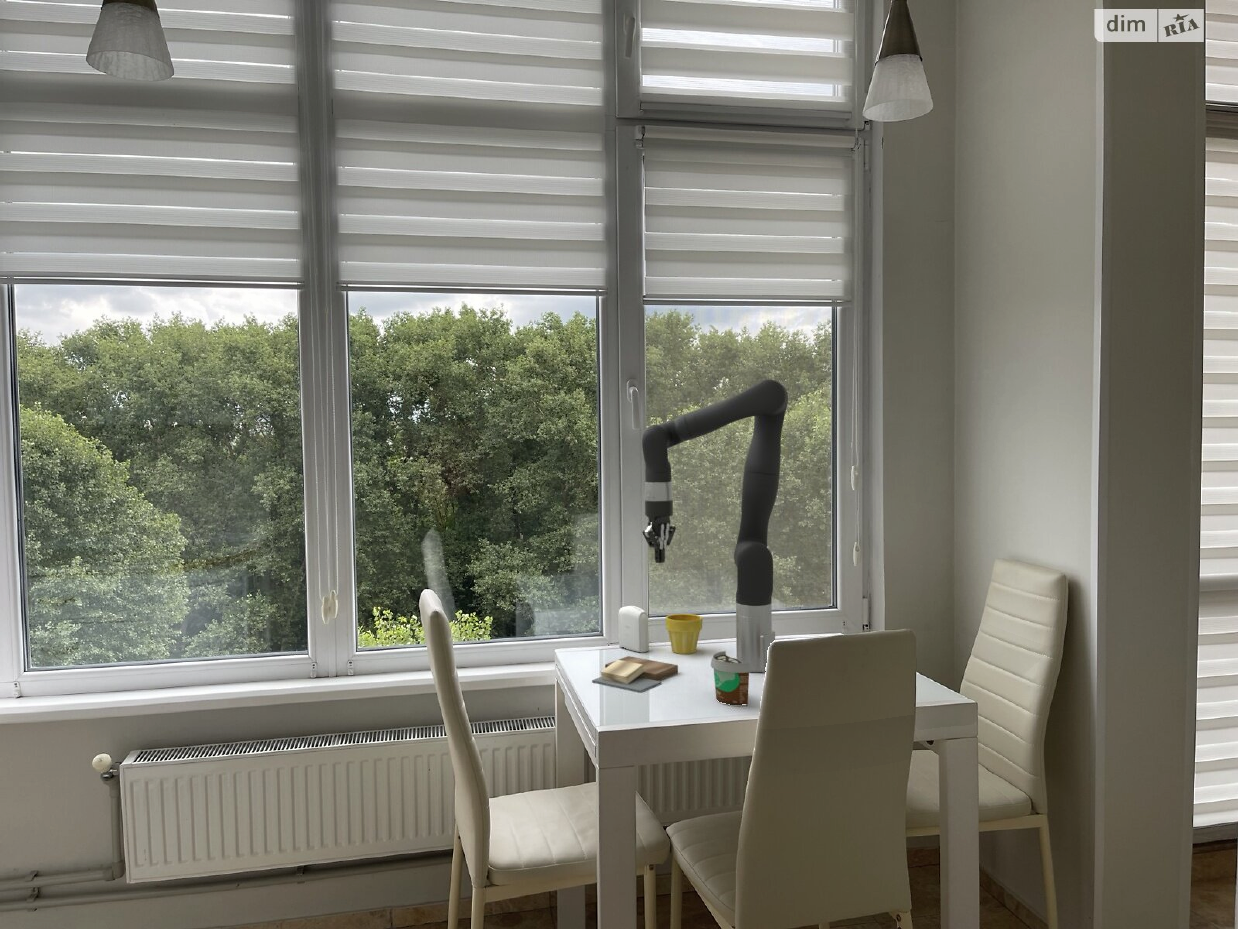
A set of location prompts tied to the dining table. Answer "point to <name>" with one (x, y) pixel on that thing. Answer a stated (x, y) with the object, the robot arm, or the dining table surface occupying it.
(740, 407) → the robot arm
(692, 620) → the plant pot
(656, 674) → the brown wooden block
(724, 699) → the food container
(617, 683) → the mat
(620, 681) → the cream flat block
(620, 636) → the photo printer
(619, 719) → the dining table surface
